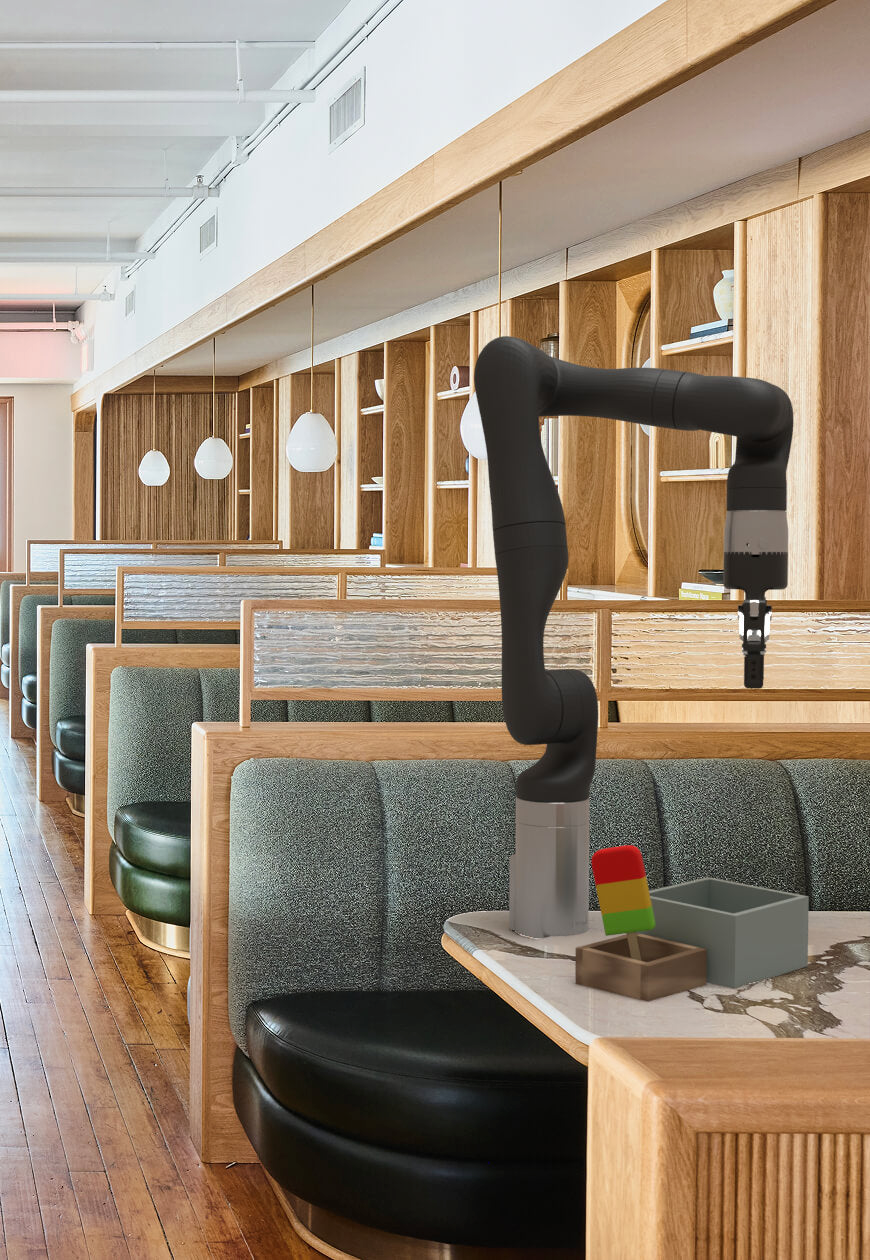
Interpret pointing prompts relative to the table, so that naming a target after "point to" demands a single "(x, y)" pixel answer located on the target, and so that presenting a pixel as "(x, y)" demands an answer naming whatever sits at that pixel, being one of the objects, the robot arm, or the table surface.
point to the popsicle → (623, 893)
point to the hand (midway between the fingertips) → (754, 685)
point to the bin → (735, 928)
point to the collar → (641, 967)
